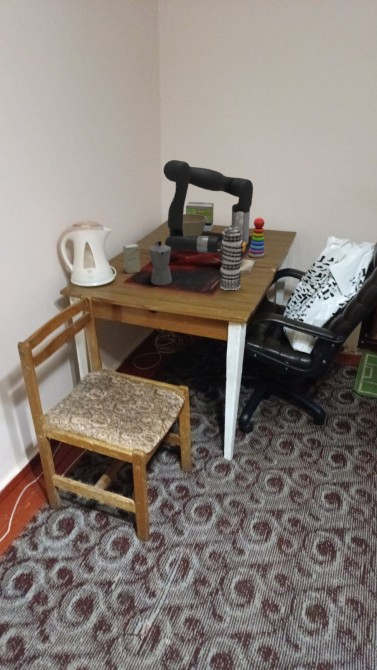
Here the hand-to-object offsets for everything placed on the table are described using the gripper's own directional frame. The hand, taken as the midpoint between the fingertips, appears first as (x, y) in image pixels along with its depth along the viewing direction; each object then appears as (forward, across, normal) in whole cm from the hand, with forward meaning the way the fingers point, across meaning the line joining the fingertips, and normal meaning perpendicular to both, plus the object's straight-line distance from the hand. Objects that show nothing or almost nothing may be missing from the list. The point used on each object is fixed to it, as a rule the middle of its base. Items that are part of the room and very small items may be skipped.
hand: (242, 246), depth 207 cm
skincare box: (-48, -16, +10) cm, 52 cm away
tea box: (-35, +57, +10) cm, 68 cm away
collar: (-2, 0, +2) cm, 2 cm away
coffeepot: (-32, -24, +10) cm, 41 cm away
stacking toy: (+4, +18, +10) cm, 21 cm away
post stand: (-2, 0, +10) cm, 10 cm away
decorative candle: (-1, -24, +10) cm, 26 cm away
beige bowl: (-35, +35, +10) cm, 51 cm away
